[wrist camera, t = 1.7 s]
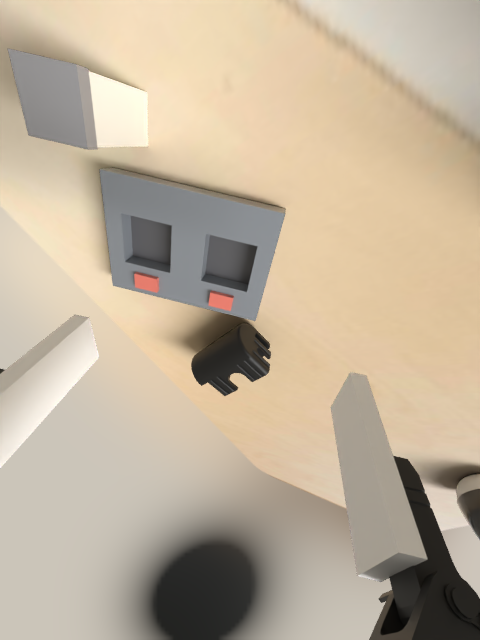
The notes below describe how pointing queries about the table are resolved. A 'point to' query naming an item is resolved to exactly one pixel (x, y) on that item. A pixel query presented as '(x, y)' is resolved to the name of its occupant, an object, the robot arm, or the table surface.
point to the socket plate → (188, 242)
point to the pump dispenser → (470, 501)
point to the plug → (78, 104)
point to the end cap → (232, 359)
